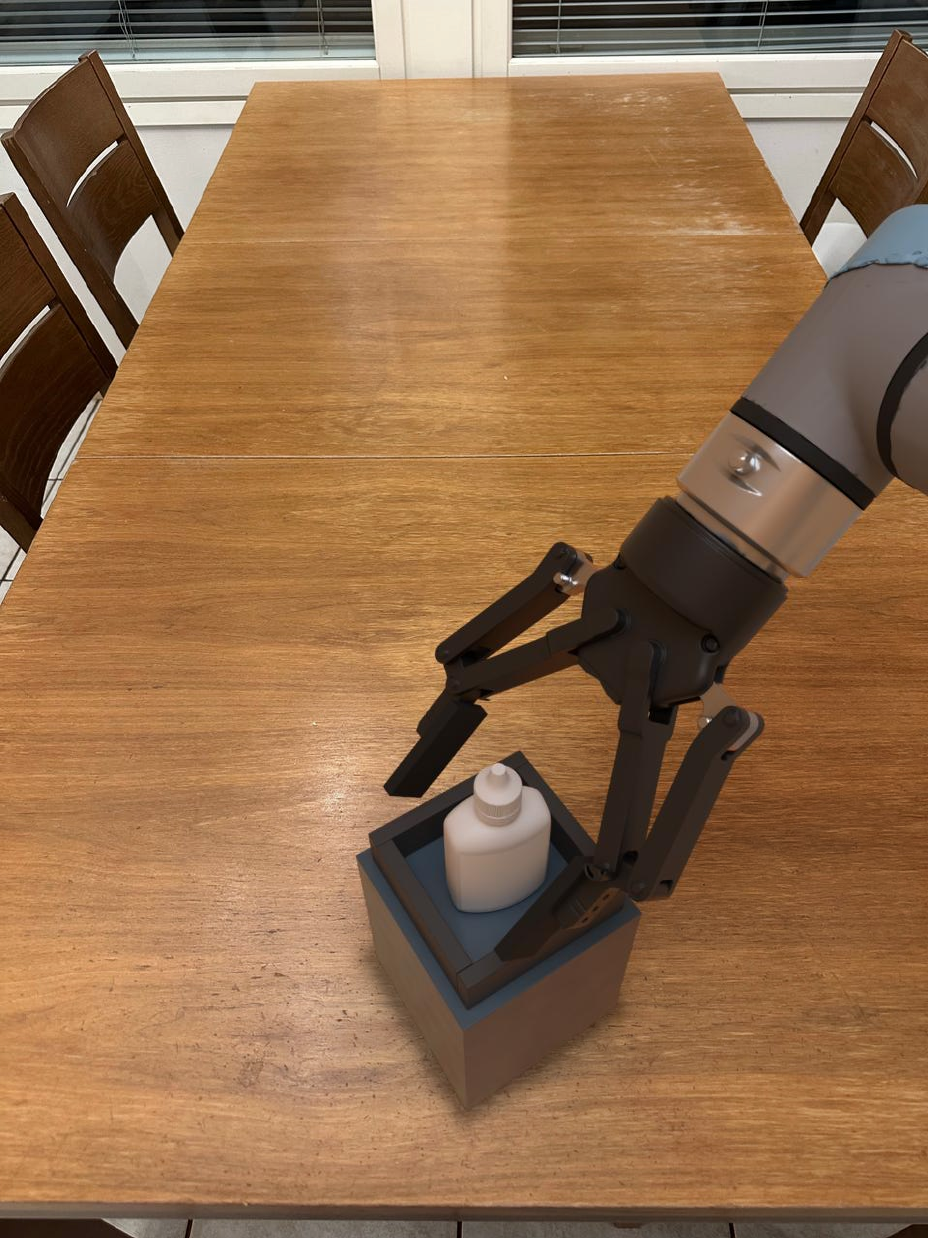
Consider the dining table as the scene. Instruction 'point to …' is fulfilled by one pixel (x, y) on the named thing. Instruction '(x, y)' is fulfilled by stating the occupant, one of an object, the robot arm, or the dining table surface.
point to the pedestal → (488, 948)
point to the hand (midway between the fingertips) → (454, 867)
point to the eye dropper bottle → (496, 842)
